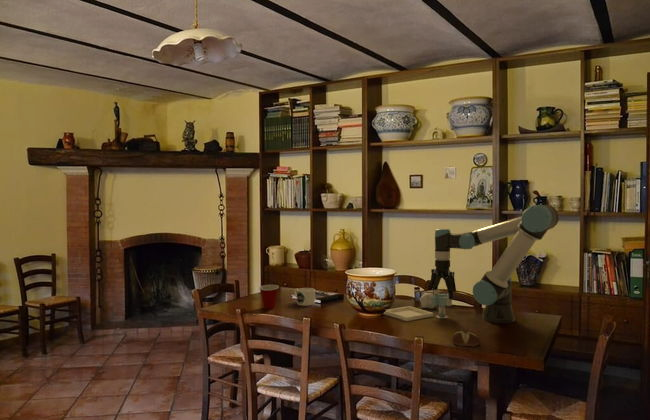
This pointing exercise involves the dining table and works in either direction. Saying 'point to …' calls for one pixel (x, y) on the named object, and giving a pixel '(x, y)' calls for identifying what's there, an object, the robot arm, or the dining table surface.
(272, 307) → the plastic cup
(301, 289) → the mug
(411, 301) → the dining table surface
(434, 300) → the grey-green rounded block
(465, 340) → the bread
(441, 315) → the grey pedestal column
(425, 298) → the die
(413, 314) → the tray
